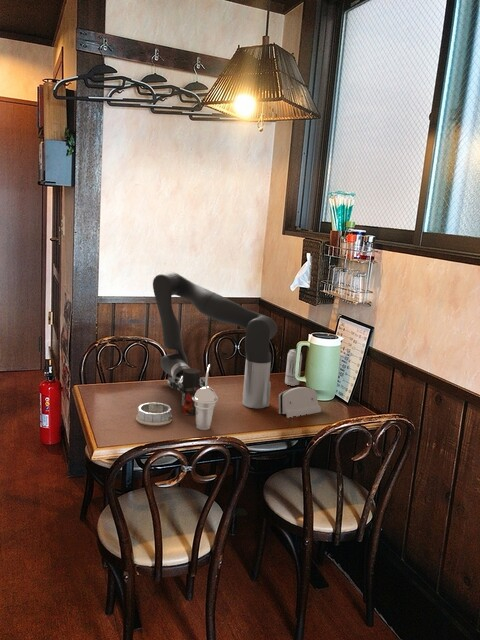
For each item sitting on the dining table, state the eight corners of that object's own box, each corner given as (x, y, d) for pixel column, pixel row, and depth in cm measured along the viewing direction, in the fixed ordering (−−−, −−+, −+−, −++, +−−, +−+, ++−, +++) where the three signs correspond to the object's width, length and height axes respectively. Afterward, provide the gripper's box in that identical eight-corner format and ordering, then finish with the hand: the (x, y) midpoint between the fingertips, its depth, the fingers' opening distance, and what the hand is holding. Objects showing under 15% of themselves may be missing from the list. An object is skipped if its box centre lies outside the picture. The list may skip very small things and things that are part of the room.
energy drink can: (284, 386, 227) (287, 351, 224) (285, 382, 233) (288, 348, 230) (298, 388, 226) (302, 353, 223) (299, 383, 232) (302, 350, 229)
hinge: (286, 418, 191) (283, 389, 192) (278, 418, 195) (275, 390, 196) (322, 411, 201) (318, 384, 202) (313, 411, 205) (310, 385, 206)
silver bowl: (168, 411, 188) (169, 401, 188) (175, 425, 177) (176, 414, 177) (133, 412, 185) (134, 402, 184) (138, 426, 174) (138, 415, 173)
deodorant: (201, 411, 191) (203, 371, 188) (190, 416, 186) (193, 374, 183) (187, 407, 194) (190, 367, 191) (177, 412, 189) (179, 370, 186)
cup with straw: (184, 427, 176) (188, 368, 172) (201, 419, 184) (204, 362, 180) (206, 434, 172) (210, 374, 168) (221, 426, 179) (226, 368, 175)
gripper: (163, 365, 198) (172, 379, 183) (202, 364, 203) (213, 378, 187) (162, 384, 200) (171, 400, 184) (200, 384, 204) (212, 399, 189)
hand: (192, 389), depth 186 cm, fingers closed on deodorant, 6 cm apart
